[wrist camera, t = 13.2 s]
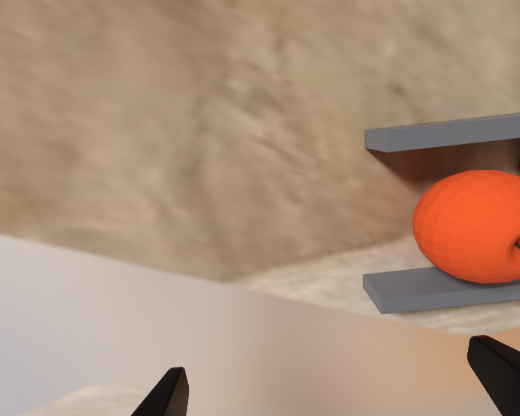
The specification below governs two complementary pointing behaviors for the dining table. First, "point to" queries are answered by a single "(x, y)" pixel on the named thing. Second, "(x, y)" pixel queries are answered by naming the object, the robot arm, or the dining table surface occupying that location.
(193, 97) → the dining table surface
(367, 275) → the grey shallow tray
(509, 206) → the clementine
